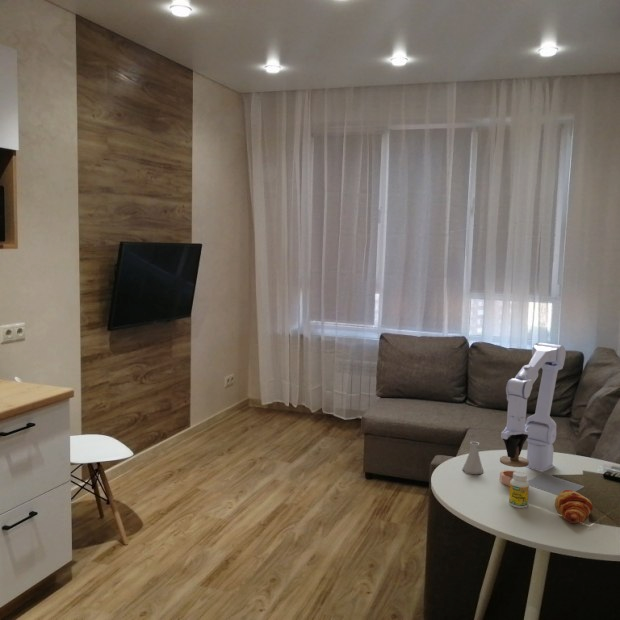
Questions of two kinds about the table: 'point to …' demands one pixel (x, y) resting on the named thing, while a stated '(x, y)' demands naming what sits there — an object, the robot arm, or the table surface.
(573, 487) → the mat
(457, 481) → the table surface
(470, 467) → the flask
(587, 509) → the croissant
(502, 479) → the bowl
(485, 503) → the table surface
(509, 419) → the robot arm
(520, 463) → the lid
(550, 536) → the table surface
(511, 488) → the supplement bottle
